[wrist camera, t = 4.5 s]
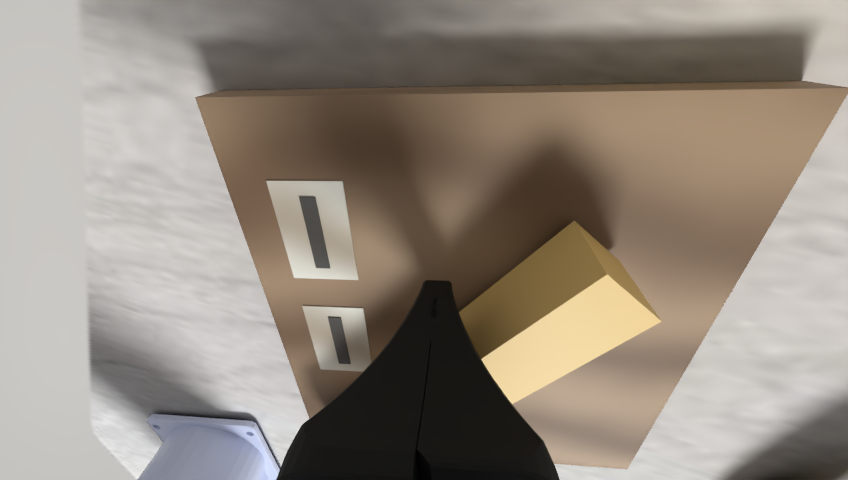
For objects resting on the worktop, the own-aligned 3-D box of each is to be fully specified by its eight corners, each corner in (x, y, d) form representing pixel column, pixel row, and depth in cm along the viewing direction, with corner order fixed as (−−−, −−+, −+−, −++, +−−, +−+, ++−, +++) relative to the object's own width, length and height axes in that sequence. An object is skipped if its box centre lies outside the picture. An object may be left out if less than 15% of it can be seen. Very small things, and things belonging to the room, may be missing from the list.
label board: (617, 443, 22) (627, 471, 20) (326, 422, 23) (318, 447, 22) (803, 81, 10) (854, 88, 9) (222, 89, 12) (193, 97, 11)
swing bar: (362, 441, 20) (349, 499, 18) (316, 418, 19) (295, 476, 17) (625, 266, 12) (668, 327, 10) (567, 214, 11) (598, 267, 9)
